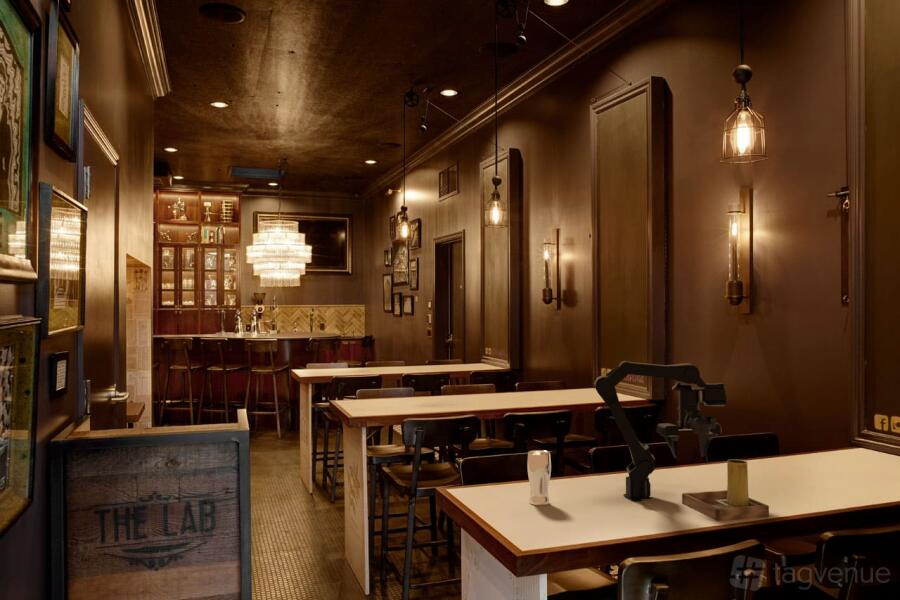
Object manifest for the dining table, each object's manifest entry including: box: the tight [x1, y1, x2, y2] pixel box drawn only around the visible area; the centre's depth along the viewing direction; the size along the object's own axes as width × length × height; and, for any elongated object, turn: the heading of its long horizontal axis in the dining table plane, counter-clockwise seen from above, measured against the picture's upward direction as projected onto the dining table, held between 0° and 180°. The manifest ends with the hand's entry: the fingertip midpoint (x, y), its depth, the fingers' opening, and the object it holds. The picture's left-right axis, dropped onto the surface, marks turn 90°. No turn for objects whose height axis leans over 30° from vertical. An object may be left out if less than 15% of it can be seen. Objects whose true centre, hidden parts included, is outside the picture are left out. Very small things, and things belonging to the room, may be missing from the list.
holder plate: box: [715, 499, 760, 509], centre depth 189 cm, size 9×9×2 cm
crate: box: [681, 489, 770, 522], centre depth 192 cm, size 16×17×4 cm
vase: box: [726, 458, 750, 507], centre depth 189 cm, size 6×6×14 cm
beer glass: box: [527, 449, 552, 507], centre depth 201 cm, size 7×7×15 cm
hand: (689, 457), depth 203 cm, fingers open, 9 cm apart
